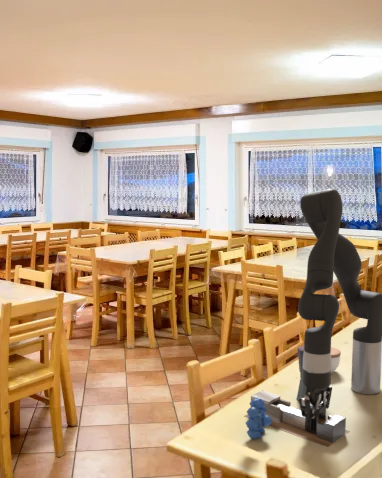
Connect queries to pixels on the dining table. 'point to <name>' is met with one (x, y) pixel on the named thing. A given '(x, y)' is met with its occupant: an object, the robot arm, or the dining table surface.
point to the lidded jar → (335, 359)
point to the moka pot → (301, 386)
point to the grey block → (296, 419)
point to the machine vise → (275, 416)
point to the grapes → (257, 418)
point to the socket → (332, 428)
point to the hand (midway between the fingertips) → (315, 427)
